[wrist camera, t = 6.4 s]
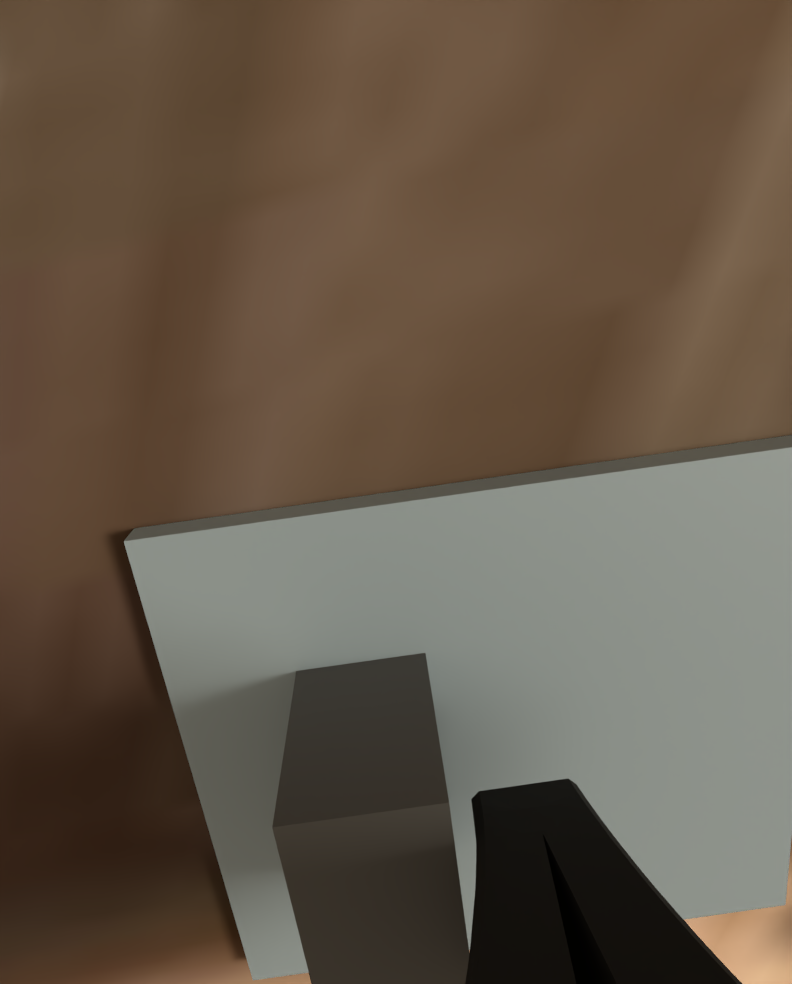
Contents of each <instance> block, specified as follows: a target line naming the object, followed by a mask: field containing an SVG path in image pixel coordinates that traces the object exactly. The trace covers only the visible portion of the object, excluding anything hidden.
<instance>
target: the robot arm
mask: <svg viewBox="0 0 792 984" xmlns="http://www.w3.org/2000/svg"><path fill="white" fill-rule="evenodd" d="M471 801H472V810H473V818H474V827H475V835H476V883H475V898H474V910H473V921H472V933H471V944H470V953H469V961H468V968H467V975H466V982H465V984H742V983H741V982H740V981H739V980H738V979H737V978H736V977H735V976H734V975H733V974H732V973H731V971H730V970H729V969H728V968H727V967H726V966H725V965H724V964H723V963H722V962H721V961H720V960H719V959H718V958H717V957H716V956H715V954H714V953H713V952H712V951H711V950H710V949H709V948H708V947H707V946H706V945H705V943H704V942H703V941H702V940H701V939H700V938H699V937H698V936H697V935H696V934H695V932H694V931H693V930H692V929H691V928H690V927H689V926H688V924H687V923H686V922H685V921H684V920H683V919H682V917H681V916H680V915H679V914H678V913H677V912H676V911H675V909H674V908H673V907H672V906H671V905H670V904H669V903H668V901H667V900H666V899H665V898H664V897H663V896H662V894H661V893H660V892H659V891H658V890H657V889H656V888H655V886H654V885H653V884H652V883H651V882H650V880H649V879H648V878H647V877H646V876H645V874H644V873H643V872H642V871H641V869H640V868H639V867H638V866H637V865H636V863H635V862H634V861H633V860H632V858H631V857H630V856H629V855H628V853H627V852H626V851H625V849H624V848H623V847H622V846H621V844H620V843H619V842H618V841H617V839H616V838H615V837H614V836H613V834H612V833H611V832H610V830H609V829H608V828H607V826H606V825H605V824H604V822H603V821H602V820H601V818H600V817H599V816H598V814H597V813H596V812H595V810H594V809H593V807H592V806H591V804H590V803H589V802H588V800H587V799H586V797H585V796H584V795H583V793H582V792H581V790H580V789H579V787H578V786H577V784H575V783H574V782H573V781H571V780H570V779H561V780H554V781H547V782H540V783H533V784H526V785H519V786H512V787H505V788H498V789H491V790H484V791H479V792H478V793H477V794H476V795H475V796H474V797H473V798H472V799H471Z"/></svg>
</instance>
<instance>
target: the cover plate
mask: <svg viewBox="0 0 792 984" xmlns="http://www.w3.org/2000/svg"><path fill="white" fill-rule="evenodd" d="M124 545H125V548H126V551H127V555H128V558H129V562H130V565H131V568H132V572H133V575H134V579H135V582H136V585H137V589H138V592H139V596H140V599H141V602H142V606H143V609H144V612H145V616H146V619H147V623H148V626H149V629H150V633H151V636H152V640H153V643H154V646H155V650H156V653H157V657H158V660H159V663H160V667H161V670H162V674H163V677H164V680H165V684H166V687H167V691H168V694H169V697H170V701H171V704H172V707H173V711H174V714H175V718H176V721H177V724H178V728H179V731H180V735H181V738H182V741H183V745H184V748H185V752H186V755H187V758H188V762H189V765H190V769H191V772H192V775H193V779H194V782H195V786H196V789H197V792H198V796H199V799H200V802H201V806H202V809H203V813H204V816H205V819H206V823H207V826H208V830H209V833H210V836H211V840H212V843H213V847H214V850H215V853H216V857H217V860H218V864H219V867H220V870H221V874H222V877H223V881H224V884H225V887H226V891H227V894H228V897H229V901H230V904H231V908H232V911H233V914H234V918H235V921H236V925H237V928H238V931H239V935H240V938H241V942H242V945H243V948H244V952H245V955H246V959H247V962H248V965H249V969H250V972H251V976H252V979H253V980H259V979H266V978H273V977H280V976H287V975H294V974H301V973H308V972H309V975H310V979H311V983H312V984H465V982H466V975H467V968H468V961H469V950H470V944H471V933H472V921H473V910H474V898H475V883H476V835H475V827H474V818H473V810H472V801H471V799H472V798H473V797H474V796H475V795H476V794H477V793H478V792H479V791H484V790H491V789H498V788H505V787H512V786H519V785H526V784H533V783H540V782H547V781H554V780H561V779H570V780H571V781H573V782H574V783H575V784H577V786H578V787H579V789H580V790H581V792H582V793H583V795H584V796H585V797H586V799H587V800H588V802H589V803H590V804H591V806H592V807H593V809H594V810H595V812H596V813H597V814H598V816H599V817H600V818H601V820H602V821H603V822H604V824H605V825H606V826H607V828H608V829H609V830H610V832H611V833H612V834H613V836H614V837H615V838H616V839H617V841H618V842H619V843H620V844H621V846H622V847H623V848H624V849H625V851H626V852H627V853H628V855H629V856H630V857H631V858H632V860H633V861H634V862H635V863H636V865H637V866H638V867H639V868H640V869H641V871H642V872H643V873H644V874H645V876H646V877H647V878H648V879H649V880H650V882H651V883H652V884H653V885H654V886H655V888H656V889H657V890H658V891H659V892H660V893H661V894H662V896H663V897H664V898H665V899H666V900H667V901H668V903H669V904H670V905H671V906H672V907H673V908H674V909H675V911H676V912H677V913H678V914H679V915H680V916H681V917H682V919H690V918H697V917H704V916H711V915H718V914H726V913H733V912H740V911H747V910H754V909H761V908H768V907H775V906H782V905H785V904H786V893H787V881H788V870H789V858H790V847H791V836H792V435H788V436H781V437H774V438H767V439H760V440H753V441H746V442H739V443H732V444H725V445H718V446H711V447H704V448H697V449H690V450H683V451H676V452H669V453H662V454H655V455H648V456H641V457H634V458H627V459H619V460H612V461H605V462H598V463H591V464H584V465H577V466H570V467H563V468H556V469H549V470H542V471H535V472H528V473H521V474H514V475H507V476H500V477H493V478H486V479H479V480H472V481H465V482H458V483H451V484H444V485H437V486H430V487H423V488H416V489H409V490H401V491H394V492H387V493H380V494H373V495H366V496H359V497H352V498H345V499H338V500H331V501H324V502H317V503H310V504H303V505H296V506H289V507H282V508H275V509H268V510H261V511H254V512H247V513H240V514H233V515H226V516H219V517H212V518H205V519H198V520H190V521H183V522H176V523H169V524H162V525H155V526H148V527H141V528H134V529H133V530H132V532H131V533H130V534H129V535H128V537H127V538H126V539H125V540H124Z"/></svg>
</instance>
